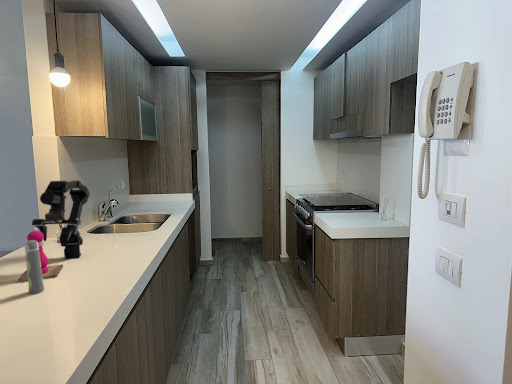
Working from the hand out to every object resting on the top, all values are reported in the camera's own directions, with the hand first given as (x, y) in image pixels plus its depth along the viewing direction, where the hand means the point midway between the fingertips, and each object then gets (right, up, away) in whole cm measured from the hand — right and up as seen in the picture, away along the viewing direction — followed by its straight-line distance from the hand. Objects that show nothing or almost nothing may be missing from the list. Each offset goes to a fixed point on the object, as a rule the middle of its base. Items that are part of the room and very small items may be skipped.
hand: (56, 240), depth 150 cm
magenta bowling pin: (-2, -13, -8) cm, 15 cm away
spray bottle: (+8, -16, -25) cm, 31 cm away
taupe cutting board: (-2, -14, -7) cm, 15 cm away
